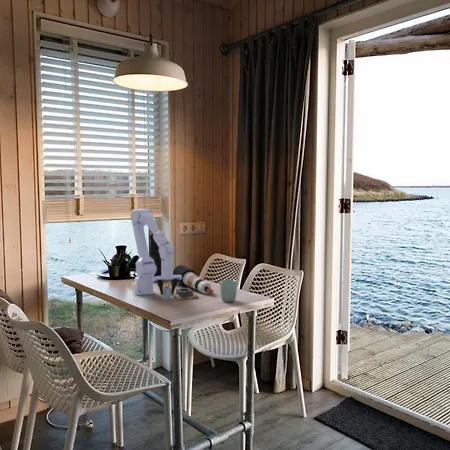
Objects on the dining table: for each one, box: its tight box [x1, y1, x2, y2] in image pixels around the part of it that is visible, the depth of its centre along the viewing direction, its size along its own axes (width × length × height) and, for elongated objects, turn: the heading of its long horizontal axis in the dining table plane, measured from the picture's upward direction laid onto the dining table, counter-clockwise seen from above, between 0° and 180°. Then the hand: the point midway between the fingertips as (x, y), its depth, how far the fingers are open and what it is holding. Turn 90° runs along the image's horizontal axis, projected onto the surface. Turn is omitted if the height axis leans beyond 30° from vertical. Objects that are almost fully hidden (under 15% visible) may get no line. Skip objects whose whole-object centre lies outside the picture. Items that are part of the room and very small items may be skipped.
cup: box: [219, 279, 238, 303], centre depth 215 cm, size 8×8×10 cm
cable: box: [173, 264, 214, 295], centre depth 239 cm, size 10×34×10 cm, turn 34°
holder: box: [171, 287, 199, 301], centre depth 223 cm, size 11×11×4 cm
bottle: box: [143, 229, 161, 277], centre depth 265 cm, size 16×16×30 cm
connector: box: [162, 283, 172, 300], centre depth 220 cm, size 3×4×7 cm
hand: (167, 294), depth 220 cm, fingers open, 5 cm apart
